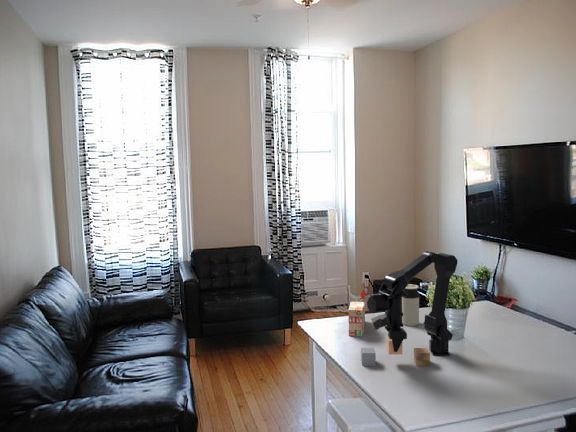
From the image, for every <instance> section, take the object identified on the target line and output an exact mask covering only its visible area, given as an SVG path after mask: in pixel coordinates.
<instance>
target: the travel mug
mask: <svg viewBox="0 0 576 432" xmlns="http://www.w3.org/2000/svg"><path fill="white" fill-rule="evenodd" d="M418 290H419V285H417V284H411V283H409V284H408V286H407V287H406V288H405V289H404V290H403V291H404V293H406V294H407V296H405V297H402V312H403V316H402V323H403V326H408V327H416V326H418V325H419V324H420V292H419V291H418Z"/></svg>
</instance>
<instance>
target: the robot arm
mask: <svg viewBox="0 0 576 432" xmlns="http://www.w3.org/2000/svg"><path fill="white" fill-rule="evenodd" d="M433 263H434V266H433V267H434V270H435V273H436V279H435V280H436V281H435V286H434V293H433V298H432V299H433V300H432V306H431V311H430V312H429V313H428V314H425V315H424V322H423V323H422V324H423V325H424V330H425V331H426V333H427V336H430V339H429V341H428V344H429V345H428V346H429V348H428V350H429V352H430V354H432V356H450V352H449V341H452V340H453V336H454V334H453V333H452V332H451V331H450V330H449V329H448V320H447V317H446V314H445V313H446V305H447V299H448V293H449V287H450V282H451V281H450V279H451V277H452V276H453V275H454V273H456V271H457V270H456V269H457V266H458V259H457V257H456V256H455V255H453V254H448V253H443V252H440V253H436V252H434V251H429V250H426V251H424V252H422V253H421V255H419V256H418V257H416V258H415V259H414V260H412V261H411V262H410V263H409V264H407V265H406V266H405V267H404V268H402V269H400V270H397V271H393V272H391V273H389V274H388V275H385V277H384V280H383V282H382V284H381V285H380V287H379V289H378V291H377V293H371V294H370V295H369V296H370V297H368V299H367V301H366V305H367V309H368V311H369V312H370V313H371V314H376V313H381V312H384V313H383V314H380V315H376V316H373V317H372V318H370V320H371V323H372V325H373V328H374V330H375V331H376V330H379V329H380V328H384V329H385V330H386V331H387V337H389V339H392V343H393V348H394V352H397V351H398V349H399V347H400V345H401V343H402V344H403V341H404V340H407V339H408V332H407V331H406V330H405V328H404V324H403V323H402V316H403V312H402V297H405V296H407V294H406V293H404V291H403V290H404V289H405V288H406V287H407V286H408V284H410V281H411V280H412V279H413V278H414V277H416V276H417V275H419V274H420V273H421V272H422V271H423V270H425V269H426V268H428V267H429V266H430V265H432V264H433Z"/></svg>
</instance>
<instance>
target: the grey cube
mask: <svg viewBox="0 0 576 432" xmlns="http://www.w3.org/2000/svg"><path fill="white" fill-rule="evenodd" d="M360 361H361V366H365V367H366V366H368V367H370V366H371V367H372V366H374V367H376V362H377V361H376V350H375V347H360Z"/></svg>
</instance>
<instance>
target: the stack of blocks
mask: <svg viewBox="0 0 576 432" xmlns="http://www.w3.org/2000/svg"><path fill="white" fill-rule="evenodd" d="M365 306H366V305H365V302H364V301H350V303H349V307H348V337H359V336H361V337H364V332H365V324H366V309H365ZM361 337H360V338H361Z"/></svg>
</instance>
